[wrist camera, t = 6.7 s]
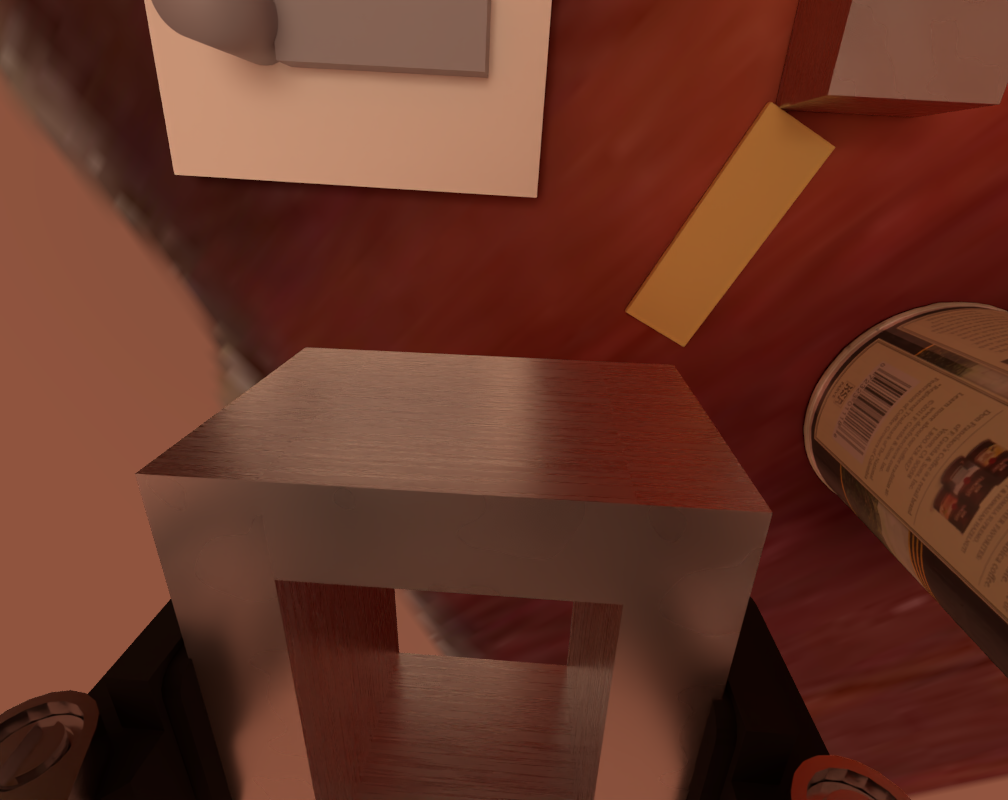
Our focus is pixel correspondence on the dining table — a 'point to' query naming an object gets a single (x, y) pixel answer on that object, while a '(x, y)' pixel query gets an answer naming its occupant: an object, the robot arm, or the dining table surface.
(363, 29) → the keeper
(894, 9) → the block
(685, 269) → the yellow flat bar
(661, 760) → the link
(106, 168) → the dining table surface
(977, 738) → the dining table surface
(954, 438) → the coffee can
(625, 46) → the dining table surface
